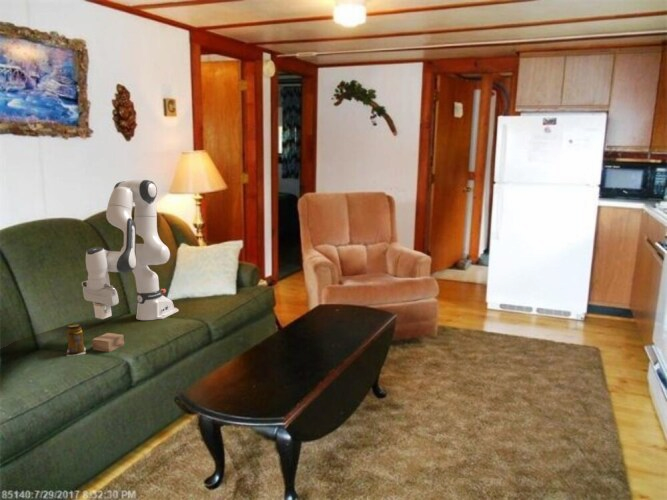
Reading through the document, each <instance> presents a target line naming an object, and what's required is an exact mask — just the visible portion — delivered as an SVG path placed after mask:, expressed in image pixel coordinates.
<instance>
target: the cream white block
mask: <svg viewBox="0 0 667 500" xmlns="http://www.w3.org/2000/svg"><path fill="white" fill-rule="evenodd" d="M111 307H112V306H111ZM111 307H110V313H105V309H106V306H105V304H101V303H95V305H93V311H94V318H96V319H100V320H104V319H107V318H109V317H112V314H113V313H112V308H111Z"/></svg>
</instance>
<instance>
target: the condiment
mask: <svg viewBox="0 0 667 500" xmlns="http://www.w3.org/2000/svg"><path fill="white" fill-rule="evenodd" d="M66 329H67V333H66V337H67V345H68V346H67V347H68V349H67V350H66V357H74V356H80V355H85V354H86V353H87V352H86V351H87V350H86V347H85V343H84V336H83V334H84V333H83V330H82V325H81V324H80V323H72V324H68V325H67V327H66Z"/></svg>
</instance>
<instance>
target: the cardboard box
mask: <svg viewBox="0 0 667 500" xmlns="http://www.w3.org/2000/svg"><path fill="white" fill-rule="evenodd" d="M124 338H125V337H124V334H118V333H112V332H106V333H104V334H102V335H99V336H97V337H95V338H92V339H91V340H92V350H94V351H98V352H99V351H100V352H104V353H105V352H107V353H110V352H113V351H114V350H117V349H119V348H122V347H124V346H125V339H124Z"/></svg>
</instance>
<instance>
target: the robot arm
mask: <svg viewBox="0 0 667 500" xmlns="http://www.w3.org/2000/svg"><path fill="white" fill-rule="evenodd" d="M157 194H158V188H157V185H156V184H155V182H154V181H152V180H148V179H133V180H126V181H119V182H117V183H116V184H115V185H114V187H113V190H112V192H111V194H110V197H109V199H108V202H107V208H106V212H105V213H106V214H105V216H106V217H105V218H106V220H107V222H108V223H109V224H111V226H113V227H116V228H117V229H120V230H121V231H122V233H123V246H122V247H121V250H119V251H118V250H117V251H116V250H115V251H114V250H107V249H104V247H101V246H95V247H91V248H89V249H88V250H86V252H85V266H86V271H87V280H84V281H82V282H81V286H82V293H83V298H84V300H85V301H88V302H92V304H93V306H94V305H95V303H101V304H105V306H106V309H105V313H110V307H115V306H116V305H118V304H119V302H120V301H119V294H118V291H117V289H116V288H115V287H114V286H113V284H112V285H111V280H110V275H109V272H112V273H122V274H130V273H131V272H132V273H133V276H134V279H135V286H136V292H135V295H136V301H137V310H136V316H135V318H136V320H138V321H139V320H140V321H153V320H164V319H166V318H168V317H169V316H171V315H174V314H175V313H178V312H179V309H178V308H177V307H175V306H174V303H173V300H171V299H170V298H168V297H167V296H165V295H164V294H165V293H166V292H167V290H166V288H160V282H159V276H158V274H157V273H156V272H155V271H153V270H152V269H150V267H149V266H153V265H154V266H158V265H164V264H166V263H168V262H169V260H170V258H171V252H170V248H169V247H168V246H167V245H166V244H165V243H163V241H162V240H161V238H160V236H159V233H158V223H157V221H158V220H157V219H158V217H157V216H158V212H157V204H156V197H157ZM133 204H134V205H135V206H134V205H133ZM133 206H134V210H133ZM133 211H134V214H133V213H132V212H133ZM132 214H133V216H134V217H132ZM137 236H139V237H141V238H142V240H143V243H137Z"/></svg>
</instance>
